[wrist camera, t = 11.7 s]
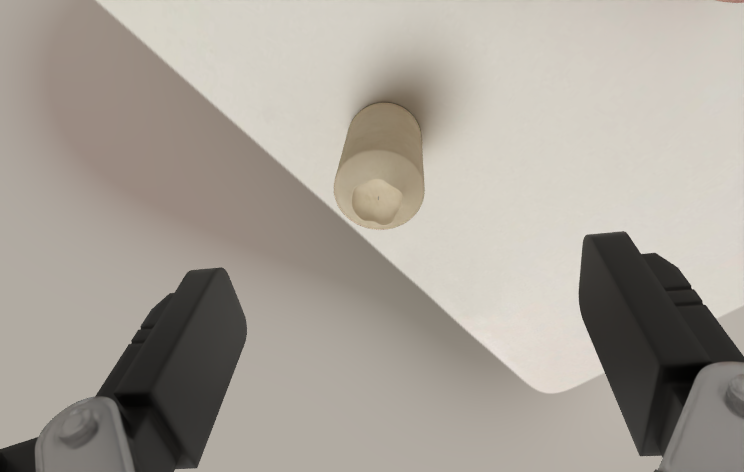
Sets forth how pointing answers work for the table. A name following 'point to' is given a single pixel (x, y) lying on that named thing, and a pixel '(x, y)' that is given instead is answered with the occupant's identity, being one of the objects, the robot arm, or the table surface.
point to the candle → (381, 168)
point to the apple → (733, 0)
